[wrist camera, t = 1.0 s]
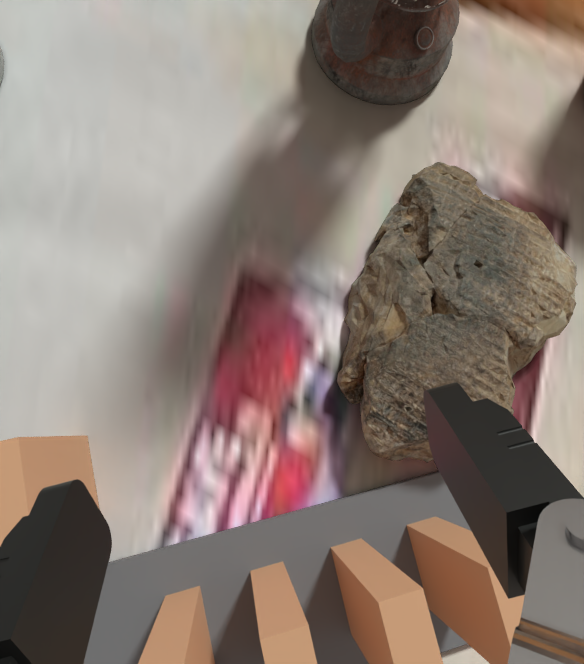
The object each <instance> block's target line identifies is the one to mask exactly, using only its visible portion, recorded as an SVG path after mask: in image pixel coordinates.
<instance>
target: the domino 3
mask: <svg viewBox="0 0 584 664" xmlns="http://www.w3.org/2000/svg"><path fill="white" fill-rule="evenodd" d="M250 572H251V580H252V587H253V594H254V601H255V608H256V616H257V623H258V630H259V637H260V643H261V648H262V653H263V657H264V662H265V664H317V660H316V656H315V651H314V647H313V643H312V638H311V634H310V629H309V625H308V622H307V620H306V617H305V615H304V612H303V610H302V607H301V605H300V602H299V600H298V598H297V595H296V593H295V590H294V588H293V585H292V583H291V580H290V578H289V575H288V573H287V570H286V568H285V565H284V563H283V561H282V562H279V563H275V564H272V565H268V566H265V567H262V568H258V569H255V570H251V571H250Z"/></svg>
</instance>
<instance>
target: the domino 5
mask: <svg viewBox="0 0 584 664" xmlns="http://www.w3.org/2000/svg"><path fill="white" fill-rule="evenodd" d="M407 529H408V533H409V536H410V540H411V544H412V548H413V551H414V555H415V559H416V563H417V566H418V570H419V574H420V578H421V581H422V585H423V589H424V593H425V596H426V600H427V604H428V608H429V610H431V611H432V612H433V613H434V614H435V615H436V616H437V617H438V618H440V619H441V620H442V621H443V622H444V623H445V624H446V625H447V626H449V627H450V628H451V629H452V630H453V631H454V632H455V633H456V634H458V635H459V636H460V637H461V638H462V639H463V640H464V641H465V642H466V643H468V644H469V645H470V646H471V647H472V648H473V649H474V650H475V651H477V652H478V653H479V654H480V655H481V656H482V657H483V658H484V659H486V660H487V661H488V662H489V663H490V664H508V659H509V653H510V648H511V643H512V638H513V634H514V631H515V628H516V626H519V623H520V618H521V613H522V608H523V602H524V596H525V595H522V596H518V597H514V598H510V599H508V597H507V595H506V594H505V592H504V590H503V588H502V586H501V584H500V582H499V581H498V579H497V577H496V575H495V573H494V571H493V570H492V568H491V566H490V564H489V562H488V560H487V559H486V557H485V555H484V553H483V551H482V549H481V548H480V546H479V544H478V542H477V540H476V538H475V536H474V535H473V533H472V531H470V530H468V529H465V528H463V527H460V526H458V525H455V524H453V523H450V522H448V521H446V520H443V519H441V518H438V517H432V518H429V519H425V520H422V521H419V522H415V523H412V524H408V525H407Z"/></svg>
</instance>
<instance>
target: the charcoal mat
mask: <svg viewBox="0 0 584 664" xmlns="http://www.w3.org/2000/svg"><path fill="white" fill-rule="evenodd" d="M432 517H438V518H441V519H443V520H446V521H448V522H450V523H453V524H455V525H458V526H460V527H463V528H465V529H468V530H470V531H471V529H470V527H469V525H468V524H467V522H466V520H465V518H464V516H463V514H462V513H461V511H460V509H459V507H458V505H457V503H456V502H455V500H454V498H453V496H452V494H451V492H450V490H449V489H448V487H447V485H446V483H445V481H444V479H443V478H442V476H441V474H440V472H439V471H437V472H434V473H430V474H426V475H423V476H419V477H415V478H412V479H408V480H405V481H401V482H397V483H394V484H390V485H387V486H383V487H379V488H376V489H372V490H369V491H365V492H361V493H358V494H354V495H350V496H347V497H343V498H340V499H336V500H332V501H329V502H325V503H322V504H318V505H314V506H311V507H307V508H304V509H300V510H296V511H293V512H289V513H286V514H282V515H278V516H275V517H271V518H267V519H264V520H260V521H257V522H253V523H249V524H246V525H242V526H239V527H235V528H231V529H228V530H224V531H221V532H217V533H213V534H210V535H206V536H202V537H199V538H195V539H192V540H188V541H184V542H181V543H177V544H174V545H170V546H166V547H163V548H159V549H156V550H152V551H148V552H145V553H141V554H137V555H134V556H130V557H127V558H123V559H119V560H116V561H112V562H109V563H108V566H107V570H106V574H105V578H104V582H103V586H102V590H101V594H100V598H99V602H98V606H97V611H96V615H95V619H94V623H93V627H92V631H91V635H90V639H89V643H88V647H87V651H86V655H85V659H84V663H83V664H138V663H139V660H140V658H141V655H142V653H143V650H144V648H145V645H146V643H147V640H148V638H149V635H150V633H151V630H152V628H153V625H154V623H155V620H156V618H157V615H158V613H159V610H160V608H161V606H162V603H163V601H164V598H165V596H166V595H170V594H173V593H177V592H180V591H183V590H187V589H190V588H194V587H197V586H200V589H201V594H202V599H203V604H204V609H205V614H206V619H207V625H208V630H209V635H210V640H211V645H212V650H213V656H214V661H215V664H265V662H264V657H263V653H262V648H261V643H260V637H259V630H258V623H257V616H256V608H255V601H254V594H253V587H252V580H251V572H250V571H251V570H255V569H258V568H262V567H265V566H268V565H272V564H275V563H279V562H282V561H283V563H284V565H285V568H286V570H287V573H288V575H289V578H290V580H291V583H292V585H293V588H294V590H295V593H296V595H297V598H298V600H299V602H300V605H301V607H302V610H303V612H304V615H305V617H306V620H307V622H308V625H309V629H310V634H311V638H312V643H313V647H314V651H315V656H316V660H317V664H369V663H368V661H367V660H366V658H365V656H364V655H363V653H362V651H361V650H360V648H359V646H358V645H357V643H356V641H355V640H354V638H353V636H352V635H351V631H350V627H349V623H348V618H347V614H346V610H345V606H344V602H343V598H342V593H341V589H340V585H339V581H338V577H337V573H336V568H335V564H334V560H333V556H332V552H331V548H330V547H333V546H337V545H340V544H344V543H347V542H351V541H354V540H357V539H361V538H362V539H363V540H364V541H365V542H366V543H368V544H369V545H370V546H371V547H373V548H374V549H375V550H376V551H378V552H379V553H380V554H381V555H383V556H384V557H385V558H386V559H387V560H389V561H390V562H391V563H392V564H394V565H395V566H396V567H397V568H399V569H400V570H401V571H402V572H403V573H405V574H406V575H407V576H408V577H410V578H411V579H412V580H413V581H415V582H416V583H417V584H418V585H420V586H421V587H422V588H423V585H422V581H421V578H420V574H419V570H418V566H417V563H416V559H415V555H414V551H413V548H412V544H411V540H410V536H409V533H408V529H407V525H408V524H412V523H415V522H419V521H422V520H425V519H429V518H432ZM423 590H424V589H423ZM424 594H425V593H424ZM425 598H426V596H425ZM426 601H427V600H426ZM427 605H428V604H427ZM428 609H429V608H428ZM429 613H430V616H431V620H432V624H433V628H434V631H435V635H436V639H437V643H438V646H439V650H440V653H442V652H444V651H447V650H450V649H453V648H456V647H459V646H462V645H465V644H468V643H466V642H465V641H464V640H463V639H462V638H461V637H460V636H459V635H458V634H456V633H455V632H454V631H453V630H452V629H451V628H450V627H449V626H447V625H446V624H445V623H444V622H443V621H442V620H441V619H440V618H438V617H437V616H436V615H435V614H434V613H433V612H432V611H431V610H429Z"/></svg>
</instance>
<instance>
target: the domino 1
mask: <svg viewBox="0 0 584 664" xmlns="http://www.w3.org/2000/svg"><path fill="white" fill-rule="evenodd" d="M76 479H78V480H81V481H82V482H83V483H84V485H85V486H86V488H87V489H88V491H89V493H90V494H91V496H92V498H93V500H94V501H95V503H96V505H97V506H98V508H99V504H98V498H97V492H96V486H95V480H94V474H93V468H92V462H91V456H90V449H89V443H88V437H87V436H51V437H17V438H12V439H8V440H4V441H0V546H1V544H2V542H3V540H4V538H5V537H6V536H7V535H8V534H9V532H10V531H11V530H12V529H13V528H14V527H15V525H16V524H17V523H18V522H19V521H20V519H21V518H22V517H24V516H28V515H29V514H30V512H31V509H32V507H33V505H34V503H35V501H36V498H37V496H38V494H39V492H40V491H41V490H42V489H43V488H45V487H48V486H52V485H56V484H60V483H64V482H68V481H72V480H76Z"/></svg>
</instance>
